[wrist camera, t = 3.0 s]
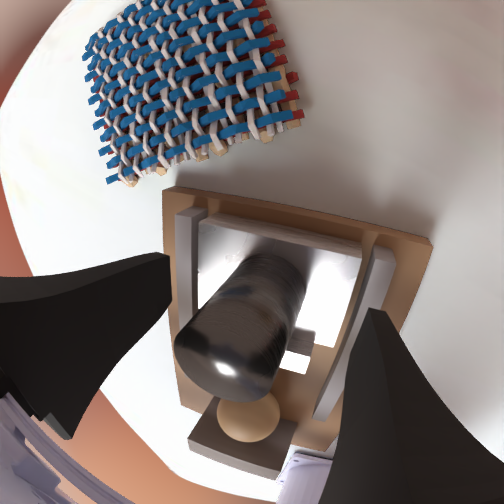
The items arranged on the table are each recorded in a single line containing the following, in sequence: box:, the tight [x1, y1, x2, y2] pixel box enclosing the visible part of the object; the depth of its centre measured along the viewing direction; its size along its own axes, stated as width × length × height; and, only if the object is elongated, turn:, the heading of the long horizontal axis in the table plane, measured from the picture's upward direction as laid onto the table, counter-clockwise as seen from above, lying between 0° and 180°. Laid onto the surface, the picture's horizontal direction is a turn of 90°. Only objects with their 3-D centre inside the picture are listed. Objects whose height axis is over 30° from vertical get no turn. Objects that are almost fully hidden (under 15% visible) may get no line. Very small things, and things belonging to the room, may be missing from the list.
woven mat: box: [82, 0, 305, 187], centre depth 10 cm, size 10×11×2 cm
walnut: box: [217, 392, 280, 442], centre depth 14 cm, size 4×4×4 cm
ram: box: [173, 212, 362, 402], centre depth 9 cm, size 5×6×6 cm
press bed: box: [162, 186, 433, 480], centre depth 13 cm, size 17×12×5 cm
